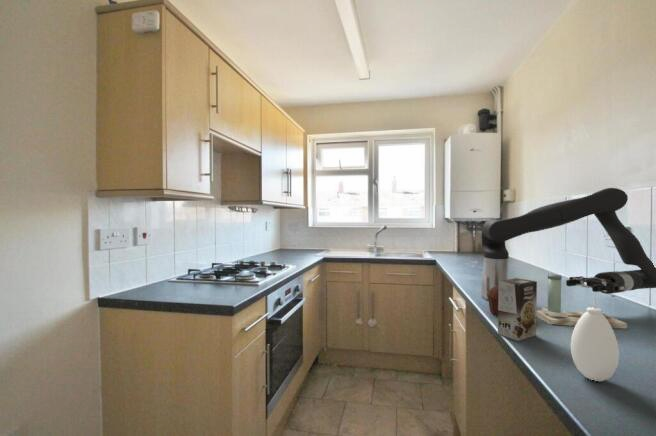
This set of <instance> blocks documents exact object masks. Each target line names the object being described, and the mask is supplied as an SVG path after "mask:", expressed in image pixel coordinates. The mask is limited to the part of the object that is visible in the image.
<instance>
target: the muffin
mask: <svg viewBox="0 0 656 436" xmlns="http://www.w3.org/2000/svg"><path fill="white" fill-rule="evenodd" d="M487 296H488V300H487V301H488V305H489V306H488V307H489V312H491V313H490V314H491V315H493V316H495V315H496V317H498V296H499V285H498V286H495V287H493V288H491V289H490V290H489V291H488V293H487Z"/></svg>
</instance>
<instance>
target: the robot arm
mask: <svg viewBox="0 0 656 436" xmlns="http://www.w3.org/2000/svg"><path fill="white" fill-rule="evenodd" d="M628 200H629V197H628V194H627V193H626V192H625V191H624V190H622V189H620V188H616V187H615V188H614V187H607V188H603V189H601V190H598V191H596V192H594V193H592V194H589V195H586V196H583V197H578V198H574V199H568V200H564V201H559V202H554V203H551V204H547V205H543V206H540V207H537V208H535V209H531V211H528V212H527V213H524V214H522V215H519V216H514V217H511V218H505V219H504V218H503V219H488V220H486V221H485V222H484V224H483V225H482V227H481V249H482V253H483V263H482V264H483V270H482V271H483V273H482V274H481V297H482V298H484V300H485V301H486V300H487V301H488V296H487V293H488V291H489V290H490V289H491V288H493V287H495V286H498V285H499V281H500V280H507V279H509V264H510V263H509V260H510V259H509V255H510V254H509V251H508V249H507V247H506V242H508V241H510V240H512V239H514V238H516V237H520V236H522V235H526V234H530V233H534V232H535V233H536V232H540V231H545V230H548V229H553V228H556V227H560V226H563V225H567V224H570V223H572V222H576V221H578V220H580V219H583V218H586V217H587V216H591V215H594V217H595V218H596V219H597V220H598V222H599V223H600V225H601V226H602V227H603V229H604V230H605V232H606V233H607V234H608V236H609V238H610V239H611V241H612V243H613V246H615V248H616V250H617V252H618V255H619V257H620V259H621V261H622V263H623V264H625V265H629V266H636V267H638V268H639V269H633V270H621V271H619V270H618V271H617V270H616V271H615V270H614V271H603V272H598V273H596V274H595V275H594V276H590V277H584V276H583V275H581V276H569V277H568V278H569V279H566V282H565V285H566V286H567V287H575V286H577V287H578V286H579V287H581V288H587V289H588V288H591V290H592V292H595V293H598V292H599V293H602V294H606V295H609V294H610V295H611V294H619V293H624V292H628V291H635V290H643V289H644V290H645V289H656V268H655V267H654V265H653V263H654V262H653V261H652V260H651V259H650V258H649V257H648V256H647V254H646V252H645V250H644V248H643V246H642V244H641V242H640V240H639V239H638V238H637V236H636V235H634V233H633V232H631V231H630V230H629V229H628V228H627V227H626V226H625V224H623V223H622V222H621V220H620V219H619V217H618V216H617V213H616V211H619V210H621V209H623V208H624V207H625V206H626V205H627V203H628ZM652 262H653V263H652ZM585 283H586V285H585Z"/></svg>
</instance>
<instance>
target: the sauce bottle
mask: <svg viewBox="0 0 656 436" xmlns="http://www.w3.org/2000/svg"><path fill="white" fill-rule="evenodd" d="M596 300H597V299H596V296H593V300H592V301H593V302H592V307H587V308H586V309H585V310H586V311H585V312H586V313H584V314H583V315H582V316H581V317H580V319H579V320H578V322H577V324H576V326H574V328H573V331H572V335H571V339H570V353H571V357H572V360H573V363H574V365H575V367H576V369H577V371H579V372H580V373H581V374H582V376H584V377H585V378H587V379H588V378H589V380H590V379H591V380H590V381H592V380H595V381H594V382H596V381H598V382H603V381H605V380H609V379H610V378H611V377H612V376H613V375H614V374H615V372H616V370H617V368H618V365H619V361H620V359H619V356H620V355H619V353H620V351H619V344H618V341H617V338H616V335H615V332H614V328H612V327H611V325H610V324H609V322H608V320H607V319H606V318H605V316H604V315H603V314H602V313H603V310H602V309H601V308H598V307H597V305H596V303H597V302H596Z"/></svg>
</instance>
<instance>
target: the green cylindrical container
mask: <svg viewBox="0 0 656 436" xmlns="http://www.w3.org/2000/svg"><path fill="white" fill-rule="evenodd" d="M562 277H563V276H562V275H559V274H552V273H551V274H547V308H546V307H541V310H542V311H543V312H544V313H546V314H548V315H549V316H557V317H567V313H565V312H566V311H564V312H563V310H562V279H563V278H562Z"/></svg>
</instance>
